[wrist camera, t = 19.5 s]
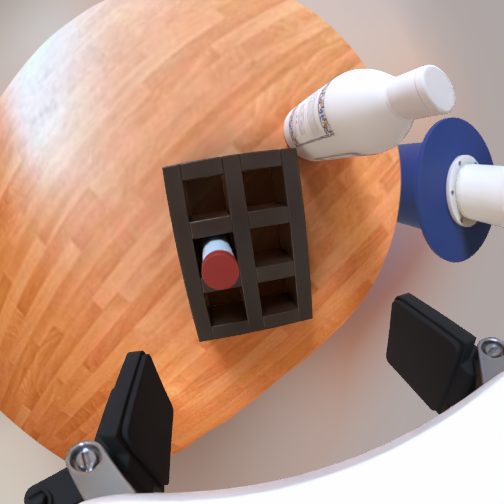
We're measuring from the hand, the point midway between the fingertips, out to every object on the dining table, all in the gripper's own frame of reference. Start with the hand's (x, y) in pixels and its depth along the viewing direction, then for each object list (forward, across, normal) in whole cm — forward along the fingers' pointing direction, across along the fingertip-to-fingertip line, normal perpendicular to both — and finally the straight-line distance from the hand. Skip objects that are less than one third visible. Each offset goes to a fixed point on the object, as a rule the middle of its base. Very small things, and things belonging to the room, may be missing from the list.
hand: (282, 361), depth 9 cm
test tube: (+22, +2, 0) cm, 22 cm away
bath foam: (+23, -11, -10) cm, 27 cm away
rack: (+22, -1, 0) cm, 22 cm away
